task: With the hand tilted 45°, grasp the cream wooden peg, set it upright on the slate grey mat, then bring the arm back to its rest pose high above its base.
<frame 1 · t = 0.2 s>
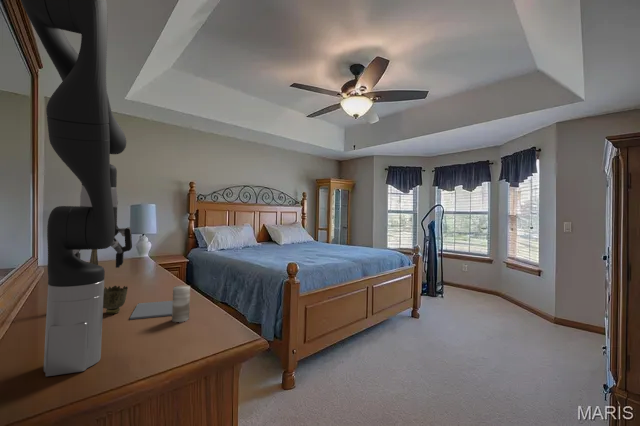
hand: (98, 267, 75), 18 cm above the dresser, tool pointing down, fingers open, 8 cm apart
cup: (112, 313, 95), on the dresser
slate mat: (161, 309, 100), on the dresser
eiffel tower: (91, 307, 101), on the dresser
cream peg: (180, 319, 90), on the dresser
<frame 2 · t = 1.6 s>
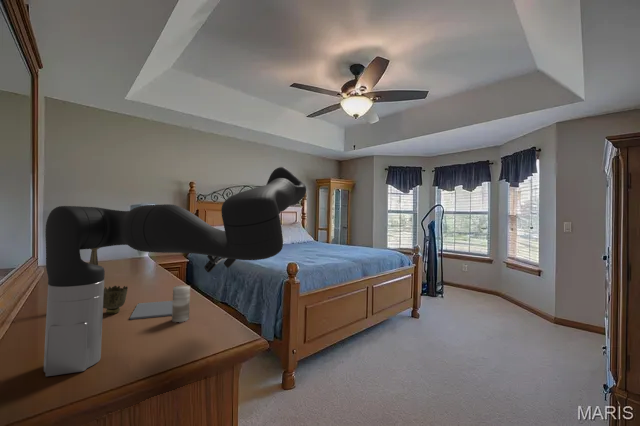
hand: (216, 267, 86), 17 cm above the dresser, tool tilted 45°, fingers open, 8 cm apart
nothing on the dresser moved.
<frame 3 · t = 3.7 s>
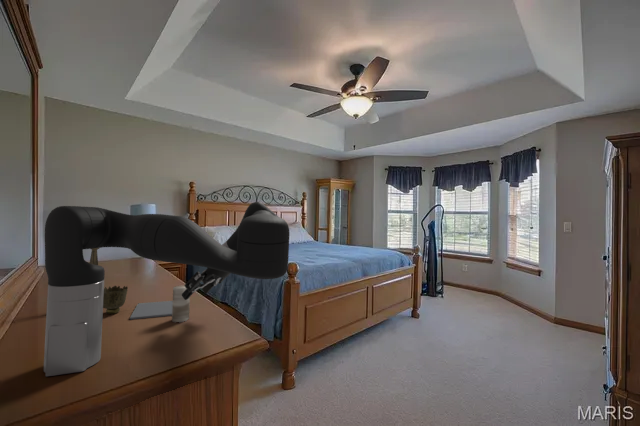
hand: (194, 294, 90), 8 cm above the dresser, tool tilted 45°, fingers open, 8 cm apart
nothing on the dresser moved.
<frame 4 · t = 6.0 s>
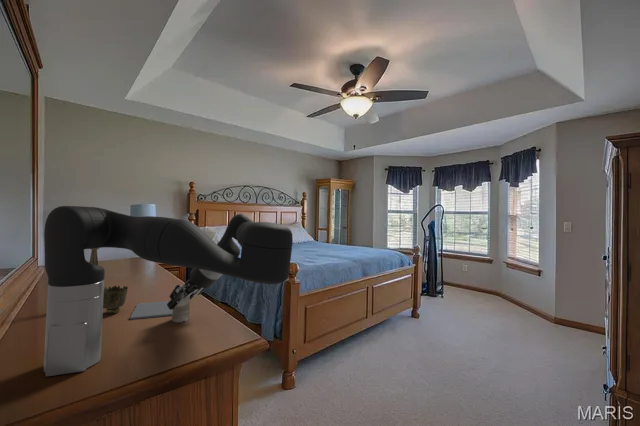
hand: (176, 304, 91), 4 cm above the dresser, tool tilted 45°, fingers closed on cream peg, 4 cm apart
cream peg: (180, 319, 90), on the dresser, touching gripper
everything else where it was.
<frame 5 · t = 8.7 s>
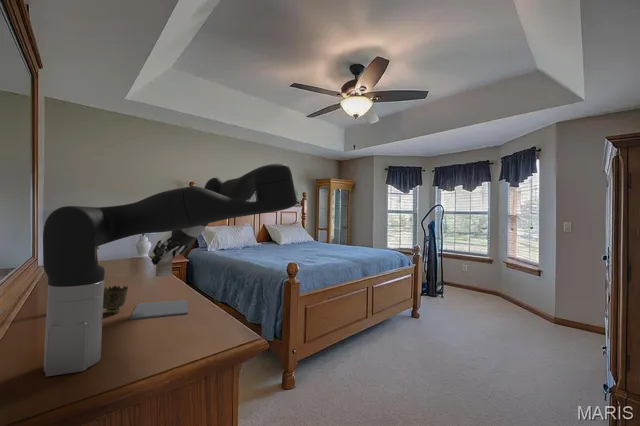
hand: (160, 261, 100), 16 cm above the dresser, tool tilted 45°, fingers closed on cream peg, 4 cm apart
cream peg: (163, 275, 100), point 12 cm above the dresser, touching gripper
everything else where it was.
when the fingers open (6 cm above the dresser, at t = 11.3 s): cream peg drops 1 cm, resting on slate mat.
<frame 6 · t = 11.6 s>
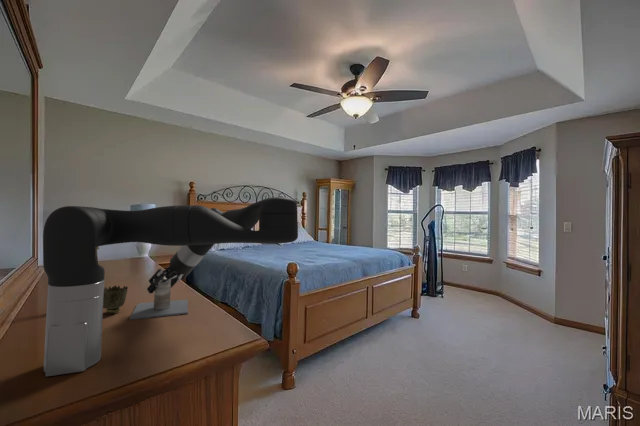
hand: (159, 288, 100), 7 cm above the dresser, tool tilted 45°, fingers open, 7 cm apart
cream peg: (161, 307, 99), point 1 cm above the dresser, touching slate mat
everything else where it was.
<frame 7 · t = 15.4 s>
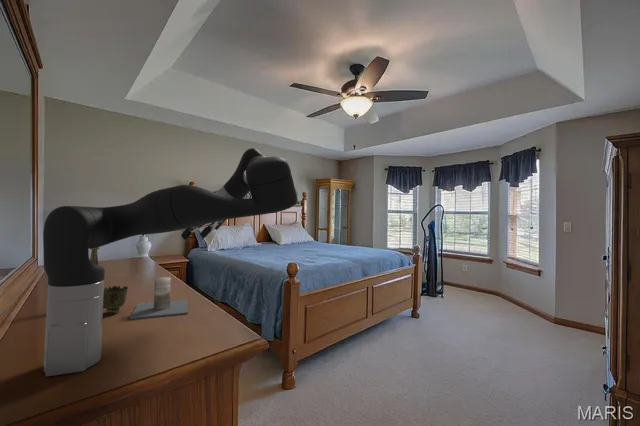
hand: (193, 236, 97), 25 cm above the dresser, tool tilted 45°, fingers open, 8 cm apart
nothing on the dresser moved.
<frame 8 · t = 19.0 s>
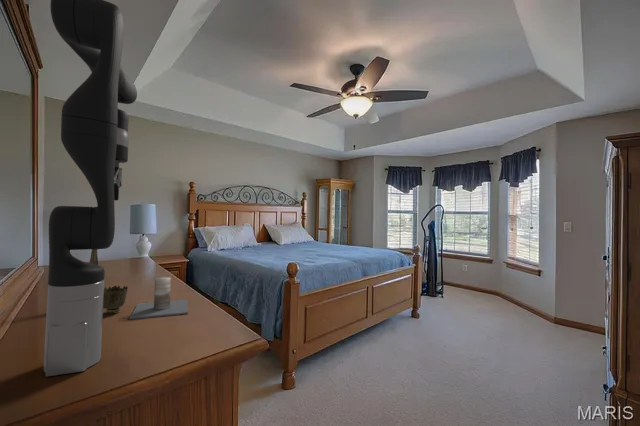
hand: (110, 199, 86), 36 cm above the dresser, tool pointing down, fingers open, 8 cm apart
nothing on the dresser moved.
at the end: cream peg 0.2 cm from the slate mat (horizontally); cream peg tilted 0°; the gripper is holding nothing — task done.
